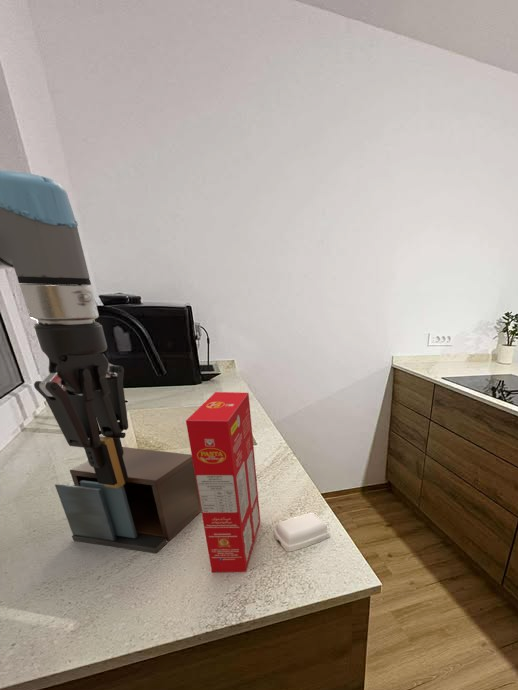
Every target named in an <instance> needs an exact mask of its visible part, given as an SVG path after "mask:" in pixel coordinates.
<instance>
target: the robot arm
mask: <svg viewBox="0 0 518 690" xmlns="http://www.w3.org/2000/svg"><path fill="white" fill-rule="evenodd" d="M78 224H79V223H78V221H77V220H76V218H75V215H74V211H73V207H72V205H71V202H70V199H69V195H68V193H67V190H66V189H65V187H64V186H62V184H60V183H59V182H58V181H57V180H54V179H52V178H49V177H47V176H43V175H39V174H34V173H30V172H29V173H28V172H21V171H13V170H0V270H14V272H15V275H16V277H17V282H18V285H19V288H20V291H21V294H22V297H23V300H24V303H25V306H26V310H27V314H28V316H29V318H30V319H32V320H34V321H35V320H36V322H37V323H35V324H34V326H33V330H34V333H35V336H36V339H37V340H36V341H37V343H38V346H39V349H40V351H41V352H42V353H43V354H44V355H45V356H46V357H47V360H48V373H49V374H48V375H47V376H46V378H44V379H43V380H36V381H35V382H34V383H33V387H34V389H35V390H36V391H37V392H38V393H39V394H40V395H41V396H42V397H43V398H44V399H45V401H46V403H47V405H48V407H49V409H50V411H51V413H52V415H53V417H54V419H55V421H56V423H57V425H58V426H59V429H60V430H61V433H62V435H63V437H64V438H65V440H66V442H67V444H68V446H69V447H75V448H83V449H84V452H85V456H86V458H87V461H89V464H90V466H91V467H94V470H95V473H96V477H97V480H98V483H99V484H107V485H115V484H117V480H116V476H115V473H114V469H113V466H112V462H111V459H110V455H109V452H108V448H107V445H105V444H101V441H100V433H101V436H102V437H110V438H113V440H114V444H115V448H116V452H117V455H118V459H119V463H120V467H121V470H122V474H123V478H124V479H125V478H127V477H128V475H127V471H126V467H125V464H124V460H123V454H124V451H123V449H122V447H123V446H122V445H123V444H122V440H121V439H124V438H126V435H127V433H126V432H123V431H127V430H129V419H128V411H127V404H126V403H127V402H126V398H125V397H126V395H125V390H124V375H125V368H124V367H123V366H122V365H114V364H112V363H110V362H109V360H108V358H107V357H106V355H105V353H104V352H106V351H107V349H108V343H107V340H106V336H105V332H104V328H103V325H102V324H101V323H100V322H97V321H96V319H98V318H99V317H100V315H99V314H100V313H99V310H98V306H97V303H96V299H95V295H94V291H93V288H92V287H93V286H92V283H91V279H90V278H91V277H90V274H89V270H88V265H87V261H86V257H85V253H84V250H83V245H82V241H81V237H80V233H79V228H78V226H79V225H78ZM99 430H100V432H99Z"/></svg>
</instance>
